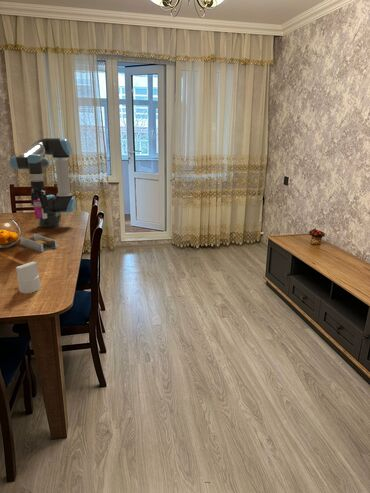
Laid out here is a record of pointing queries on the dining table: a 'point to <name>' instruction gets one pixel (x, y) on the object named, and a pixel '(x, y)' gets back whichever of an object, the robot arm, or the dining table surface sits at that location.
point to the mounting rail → (38, 246)
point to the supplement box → (37, 209)
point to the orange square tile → (41, 241)
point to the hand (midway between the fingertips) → (41, 217)
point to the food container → (58, 215)
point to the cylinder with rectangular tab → (28, 277)
